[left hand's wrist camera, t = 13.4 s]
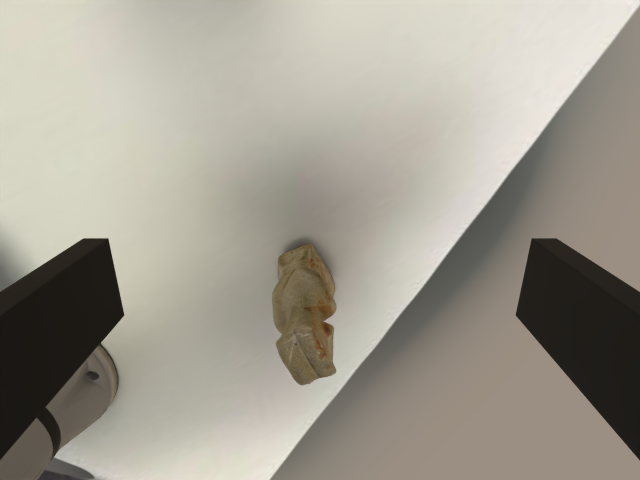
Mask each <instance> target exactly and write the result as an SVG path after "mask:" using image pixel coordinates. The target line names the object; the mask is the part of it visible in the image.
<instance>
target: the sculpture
mask: <svg viewBox="0 0 640 480" xmlns="http://www.w3.org/2000/svg"><path fill="white" fill-rule="evenodd" d="M278 272H279V280H280V281H279V283H278V284H277V286H276V287H275V289H274V291H273V294H272V302H273V317H274V323H275V326H276V328H277V329H278V331H279V332H280V333H282V336H281V337H280V338H279V339H278V341H277V342H276V346H277V349H278V352H279V355H280V357H281V359H282V361H283V363H284V364H285V366H286V367H287V368H288V370H289V372H290V373H291V375H292V377H293V378H294V380H295V381H296V382H297V383H299V384H300V385H306V384H310V383H311V382H313V381H314V380H316V379H318V378H322V377H328V376H331V375H333V374H335V373H336V369H335V366H334V364H333V333H334V327H333V326H332V325H330V324H328V323H325V322H323V321H324V320H326V319H328V318H329V317H331V316H332V315H333V314H334V313H335V311H336V308H337V307H336V303H335V301H334V299H333V295H334V293H335V284H334V281H333V279H332V276H331V274H330V273H329V271H328V269H327V268H326V266H325V265H324V263H323V262H322V260H321V259H320V257H319V256H318V254H317V252H316V251H315V248H314V247H313V246H312V245H311V244H306V245H303V246H301V247H300V248H297V249H294V250H290V251H288V252H286V253H283V254H282V255H281V256H280V257H279V259H278Z"/></svg>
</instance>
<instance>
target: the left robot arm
mask: <svg viewBox="0 0 640 480" xmlns="http://www.w3.org/2000/svg"><path fill="white" fill-rule="evenodd" d="M123 316H124V312H123V307H122V302H121V297H120V292H119V288H118V283H117V278H116V273H115V268H114V264H113V259H112V254H111V249H110V245H109V240H108V239H82V240H80V241H79V242H77V243H76V244H74V245H73V246H71V247H70V248H68V249H66V250H65V251H63V252H62V253H60V254H59V255H57V256H56V257H54V258H52V259H51V260H49V261H48V262H46V263H45V264H43V265H42V266H40V267H38V268H37V269H35V270H34V271H32V272H31V273H29V274H28V275H26V276H24V277H23V278H21V279H20V280H18V281H17V282H15V283H14V284H12V285H10V286H9V287H7V288H6V289H4V290H3V291H1V292H0V480H38V478H39V477H40V475H41V474H42V473H43V471H44V470H45V468H46V467H47V465H48V464H49V463H50V461H51V460H52V458H53V457H54V456H55V454H56V453H57V452H58V450H59V449H60V448H61V447H63V446H64V445H65V444H67V443H68V442H69V441H71V440H72V439H73V438H74V437H76V436H77V435H78V434H80V433H81V432H82V431H83V430H85V429H86V428H87V427H89V426H90V425H91V424H93V423H94V422H95V421H96V420H97V419H98V418H100V417H101V416H102V415H103V413H104V412H105V411H106V409H107V408H108V406H109V405H110V403H111V402H112V400H113V398H114V396H115V394H116V390H117V373H116V370H115V367H114V364H113V362H112V360H111V359H110V357H109V355H108V354H107V353H106V351H105V350H104V349H103V348H102V347H101V346H100V345H99V344H100V343H101V342H102V341H103V340H104V338H105V337H106V336H107V335H108V334H109V333H110V331H111V330H112V329H113V328H114V327H115V326H116V324H117V323H118V322H119V321H120V320H121V319H122V317H123ZM516 316H517V317H518V318H519V320H520V321H521V322H522V323H523V324H524V326H525V327H526V328H527V329H528V330H529V331H530V332H531V334H532V335H533V336H534V337H535V338H536V340H537V341H538V342H539V343H540V344H541V345H542V347H543V348H544V349H545V350H546V351H547V352H548V354H549V355H550V356H551V357H552V358H553V359H554V361H555V362H556V363H557V364H558V365H559V366H560V368H561V369H562V370H563V371H564V372H565V373H566V375H567V376H568V377H569V378H570V379H571V380H572V382H573V383H574V384H575V385H576V386H577V387H578V389H579V390H580V391H581V392H582V393H583V394H584V396H585V397H586V398H587V399H588V400H589V401H590V403H591V404H592V405H593V406H594V407H595V408H596V410H597V411H598V412H599V413H600V414H601V416H602V417H603V418H604V419H605V420H606V421H607V423H608V424H609V425H610V426H611V427H612V428H613V430H614V431H615V432H616V433H617V434H618V435H619V437H620V438H621V439H622V440H623V441H624V442H625V444H626V445H627V446H628V447H629V448H630V449H631V451H632V452H633V453H634V454H635V455H636V456H637V458H638V459H639V460H640V292H639V291H637V290H636V289H634V288H633V287H631V286H629V285H628V284H626V283H625V282H623V281H622V280H620V279H619V278H617V277H615V276H614V275H612V274H611V273H609V272H608V271H606V270H605V269H603V268H601V267H600V266H598V265H597V264H595V263H594V262H592V261H591V260H589V259H588V258H586V257H584V256H583V255H581V254H580V253H578V252H577V251H575V250H574V249H572V248H570V247H569V246H567V245H566V244H564V243H563V242H561V241H559V240H558V239H532V240H531V245H530V249H529V254H528V259H527V264H526V268H525V274H524V278H523V283H522V288H521V292H520V297H519V302H518V307H517V312H516Z"/></svg>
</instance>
